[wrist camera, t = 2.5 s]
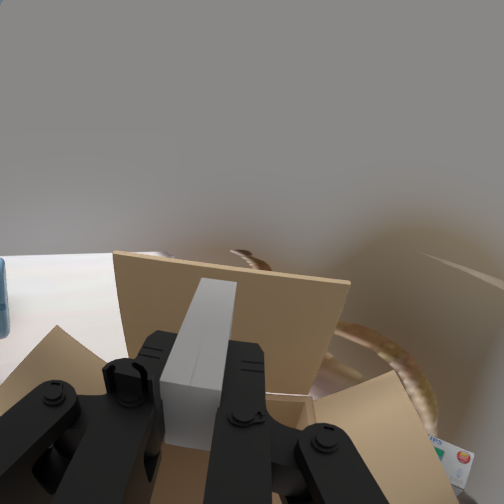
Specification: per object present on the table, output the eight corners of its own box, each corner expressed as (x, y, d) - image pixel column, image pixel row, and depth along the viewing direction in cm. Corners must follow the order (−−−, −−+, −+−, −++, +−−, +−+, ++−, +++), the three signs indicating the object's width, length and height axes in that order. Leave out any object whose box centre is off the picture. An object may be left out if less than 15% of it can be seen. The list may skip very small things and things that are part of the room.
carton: (379, 592, 14) (478, 544, 8) (20, 542, 13) (-65, 466, 7) (348, 450, 37) (393, 364, 32) (83, 415, 36) (59, 320, 31)
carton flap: (351, 284, 26) (349, 280, 26) (112, 253, 25) (115, 250, 26) (307, 394, 33) (307, 390, 34) (131, 370, 33) (133, 367, 33)
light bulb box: (356, 500, 28) (391, 458, 25) (378, 469, 33) (411, 424, 30) (418, 529, 22) (466, 490, 18) (435, 496, 26) (476, 452, 23)
